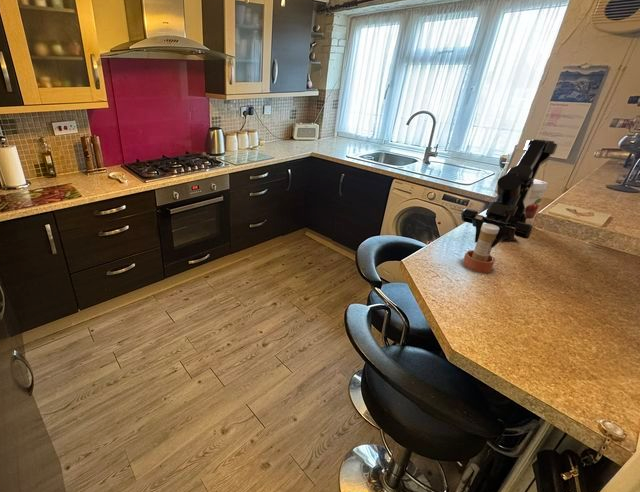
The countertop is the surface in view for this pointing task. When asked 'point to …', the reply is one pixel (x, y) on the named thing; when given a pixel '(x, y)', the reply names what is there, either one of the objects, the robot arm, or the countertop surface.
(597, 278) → the countertop surface
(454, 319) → the countertop surface
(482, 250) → the sprinkles bottle
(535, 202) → the juice carton
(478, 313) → the countertop surface
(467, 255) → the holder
